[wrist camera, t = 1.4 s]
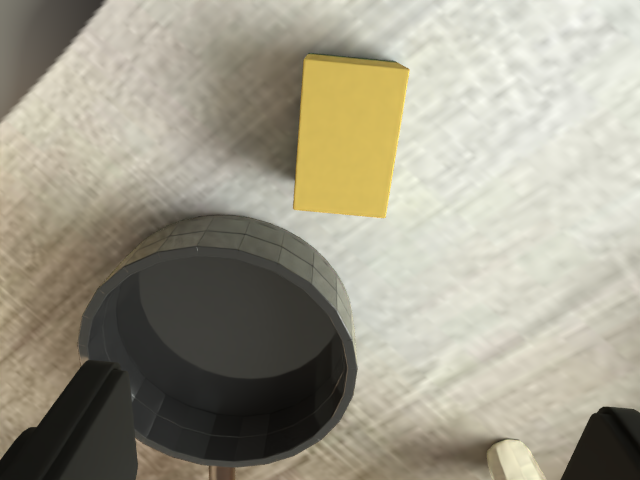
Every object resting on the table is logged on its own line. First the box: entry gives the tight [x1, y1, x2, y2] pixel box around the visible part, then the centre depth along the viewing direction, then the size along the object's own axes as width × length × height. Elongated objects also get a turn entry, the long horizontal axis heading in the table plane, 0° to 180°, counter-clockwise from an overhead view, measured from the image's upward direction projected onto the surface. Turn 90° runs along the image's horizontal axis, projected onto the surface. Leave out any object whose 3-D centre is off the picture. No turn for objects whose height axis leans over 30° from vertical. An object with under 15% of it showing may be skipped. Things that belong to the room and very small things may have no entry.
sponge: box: [293, 53, 410, 218], centre depth 23 cm, size 7×5×4 cm, turn 175°
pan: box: [78, 215, 358, 468], centre depth 29 cm, size 16×16×4 cm
